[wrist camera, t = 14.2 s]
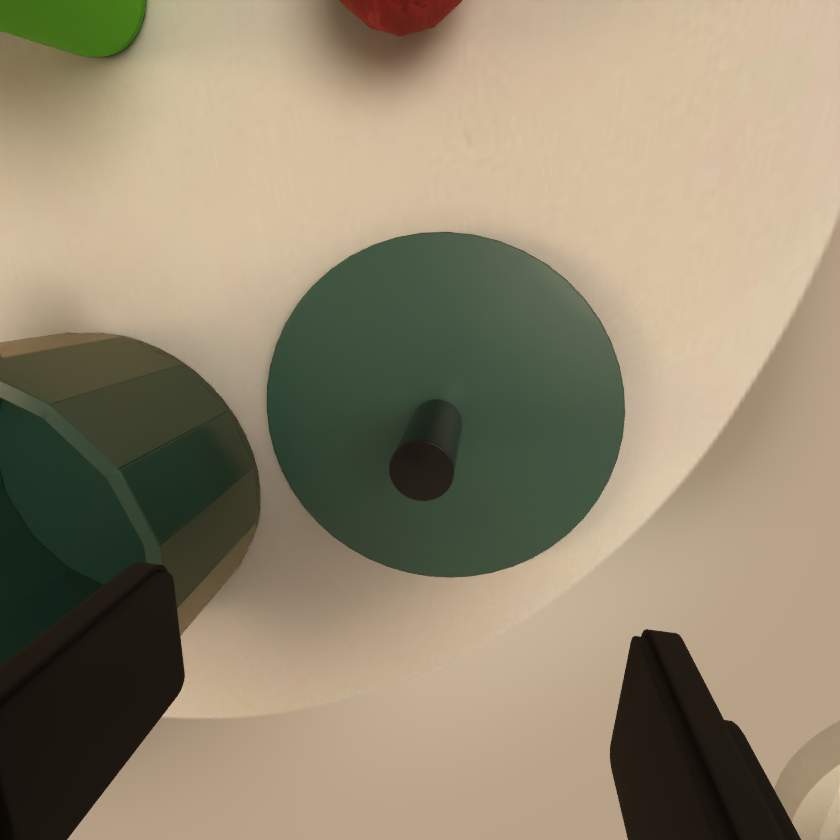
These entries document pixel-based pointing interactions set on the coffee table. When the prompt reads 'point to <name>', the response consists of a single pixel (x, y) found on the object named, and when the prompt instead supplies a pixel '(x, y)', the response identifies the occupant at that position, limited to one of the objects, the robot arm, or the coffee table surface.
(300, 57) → the coffee table surface
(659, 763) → the robot arm
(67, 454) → the pot
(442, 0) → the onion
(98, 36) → the cup
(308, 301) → the lid
